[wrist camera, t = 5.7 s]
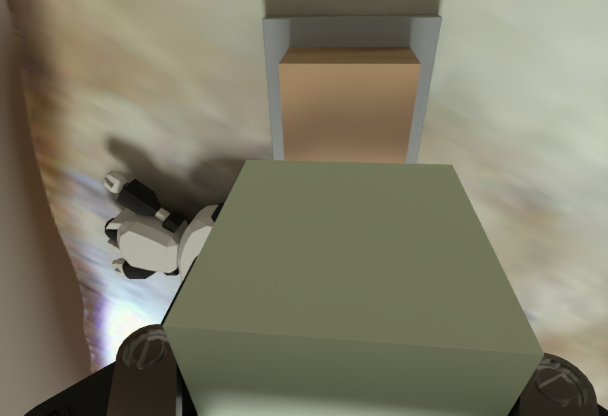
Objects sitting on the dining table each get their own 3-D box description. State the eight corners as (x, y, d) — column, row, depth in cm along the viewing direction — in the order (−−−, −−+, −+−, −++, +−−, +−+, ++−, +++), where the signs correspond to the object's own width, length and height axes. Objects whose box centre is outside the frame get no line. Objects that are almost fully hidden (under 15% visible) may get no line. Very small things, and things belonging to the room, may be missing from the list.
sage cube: (246, 159, 11) (162, 326, 6) (452, 164, 10) (544, 354, 5) (264, 294, 14) (220, 470, 9) (419, 304, 14) (456, 497, 9)
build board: (265, 16, 21) (262, 19, 21) (438, 14, 20) (441, 17, 20) (276, 165, 27) (274, 171, 26) (412, 169, 26) (414, 176, 25)
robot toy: (129, 254, 36) (272, 299, 36) (100, 287, 32) (259, 337, 32) (122, 146, 29) (300, 202, 29) (84, 173, 25) (288, 237, 25)
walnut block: (289, 47, 21) (278, 63, 18) (409, 46, 21) (420, 63, 17) (294, 153, 25) (285, 182, 22) (395, 156, 25) (401, 187, 21)
